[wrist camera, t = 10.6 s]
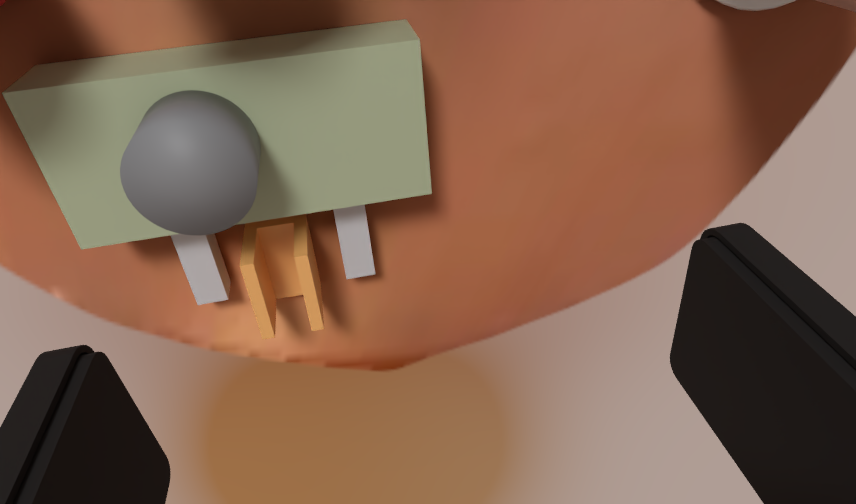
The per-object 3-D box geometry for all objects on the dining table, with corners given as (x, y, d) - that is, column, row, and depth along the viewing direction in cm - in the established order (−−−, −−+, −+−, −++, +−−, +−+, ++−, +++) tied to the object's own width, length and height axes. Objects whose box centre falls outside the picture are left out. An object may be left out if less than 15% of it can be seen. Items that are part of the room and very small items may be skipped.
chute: (305, 213, 39) (307, 255, 35) (320, 283, 43) (323, 328, 39) (245, 222, 39) (239, 266, 35) (265, 292, 42) (262, 339, 38)
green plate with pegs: (406, 19, 33) (435, 62, 26) (426, 248, 42) (452, 324, 36) (35, 65, 31) (-37, 125, 24) (142, 296, 40) (111, 387, 33)
